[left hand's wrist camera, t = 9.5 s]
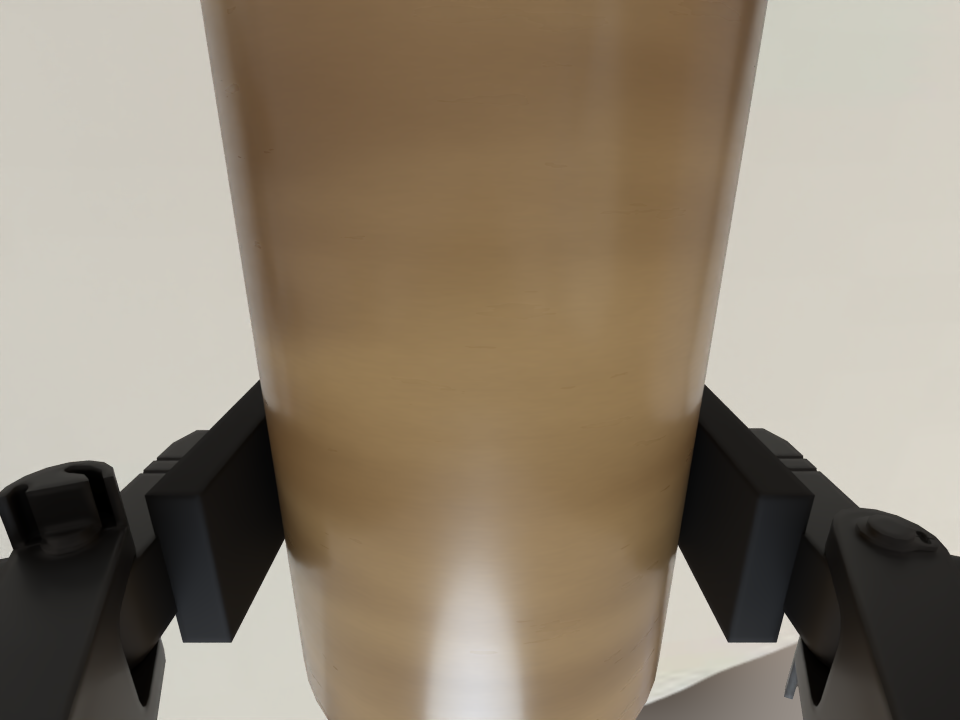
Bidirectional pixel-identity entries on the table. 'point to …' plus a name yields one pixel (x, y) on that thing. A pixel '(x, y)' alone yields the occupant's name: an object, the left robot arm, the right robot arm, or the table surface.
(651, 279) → the brown cylinder
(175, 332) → the table surface
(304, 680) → the table surface
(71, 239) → the table surface
